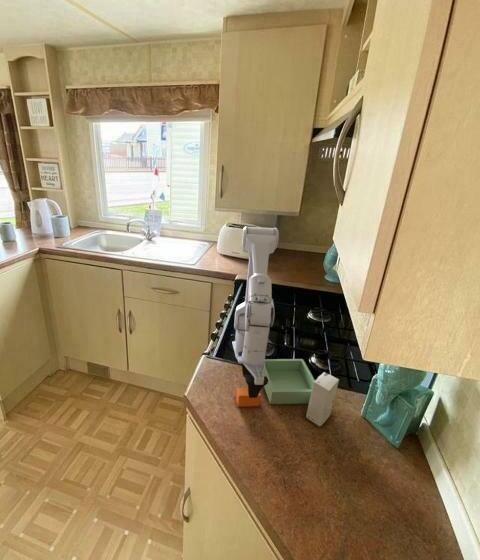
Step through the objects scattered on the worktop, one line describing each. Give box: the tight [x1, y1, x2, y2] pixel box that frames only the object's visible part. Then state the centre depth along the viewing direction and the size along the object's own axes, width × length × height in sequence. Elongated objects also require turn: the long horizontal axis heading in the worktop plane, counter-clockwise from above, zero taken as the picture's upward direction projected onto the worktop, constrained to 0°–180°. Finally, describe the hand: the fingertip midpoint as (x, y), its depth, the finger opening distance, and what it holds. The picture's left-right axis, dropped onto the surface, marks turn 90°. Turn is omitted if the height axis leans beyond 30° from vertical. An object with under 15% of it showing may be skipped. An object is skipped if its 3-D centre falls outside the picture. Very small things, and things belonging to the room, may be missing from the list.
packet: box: [235, 387, 262, 408], centre depth 87 cm, size 3×6×4 cm, turn 93°
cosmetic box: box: [305, 371, 340, 427], centre depth 81 cm, size 6×4×12 cm
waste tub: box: [263, 358, 316, 405], centre depth 93 cm, size 14×14×4 cm
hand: (249, 385), depth 85 cm, fingers open, 7 cm apart
